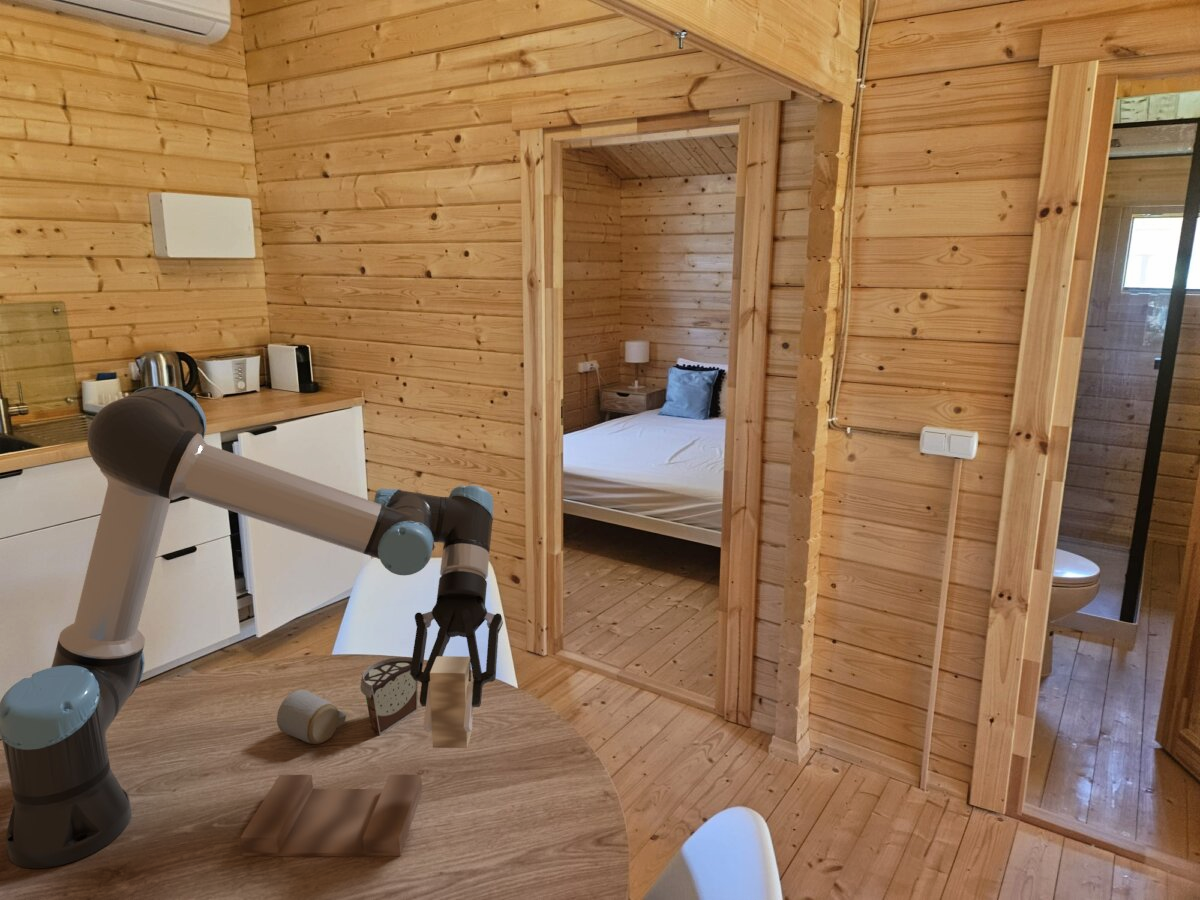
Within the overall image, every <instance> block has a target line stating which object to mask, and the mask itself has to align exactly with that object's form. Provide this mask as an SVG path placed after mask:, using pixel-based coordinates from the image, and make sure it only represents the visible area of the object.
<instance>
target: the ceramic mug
mask: <svg viewBox="0 0 1200 900" xmlns="http://www.w3.org/2000/svg"><path fill="white" fill-rule="evenodd" d="M346 718H347V715H346V713H345V712H343V711H342V710H339V709H338V708H337V707H336V706H335V704H333V703H332V702H330V701H329V700H326V699H324V698H322V697H320V696H319V695H316V694H314V693H312V692H310V691H309V690H306V689H297V690H295V691H293V692H291V693H289V694H288V695H287V696H286V697H285V698H284V699H283V701H282V702H281V704H280V706H279V708H278V711H277V716H276V724H277V727H278V729H279V730H280V731H281V732H283V734H286V735H289V736H291V737H292V738H293V737H294V738H295V739H299V740H301V741H303V742H306V743H308V744H312V745H320V744H322V743H325V742H326V741H328V740H329V739H330V738H331V737H332V736H333V735H334V733H335V732H336V729H337V728H338V726H342V725H344V724H345V722H346Z"/></svg>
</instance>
